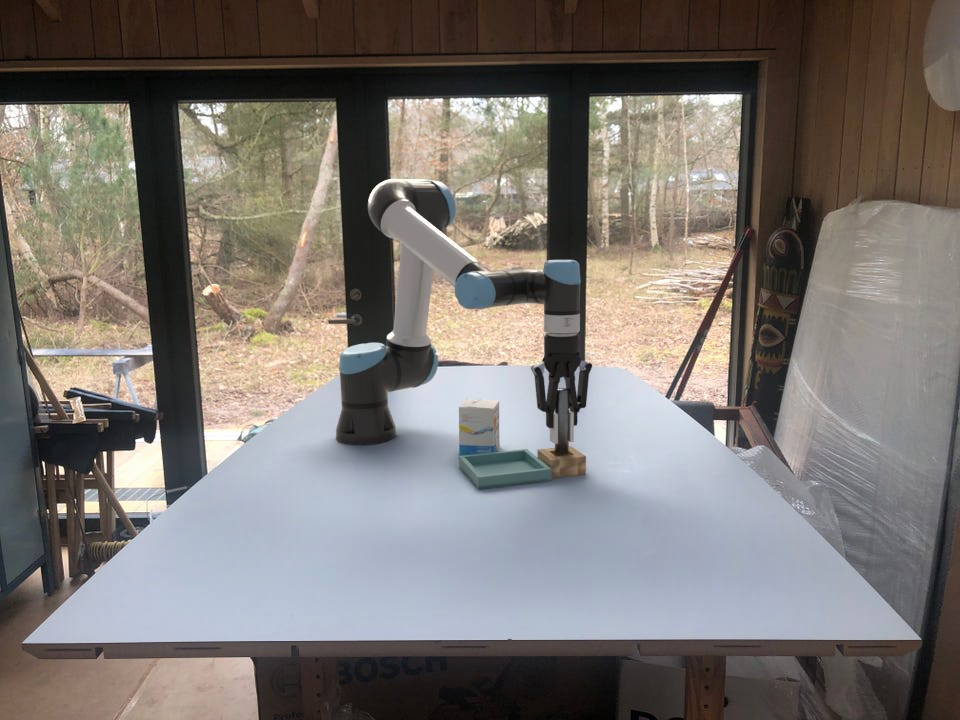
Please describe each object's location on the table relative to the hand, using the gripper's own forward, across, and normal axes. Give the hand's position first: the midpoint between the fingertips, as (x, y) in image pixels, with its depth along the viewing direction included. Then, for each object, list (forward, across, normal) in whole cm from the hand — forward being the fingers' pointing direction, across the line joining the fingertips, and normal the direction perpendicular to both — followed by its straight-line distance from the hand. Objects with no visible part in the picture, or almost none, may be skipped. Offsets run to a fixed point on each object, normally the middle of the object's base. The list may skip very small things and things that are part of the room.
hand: (561, 441), depth 164 cm
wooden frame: (+7, 0, 0) cm, 7 cm away
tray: (+7, -12, +2) cm, 14 cm away
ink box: (+7, -12, +20) cm, 25 cm away
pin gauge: (+3, 0, 0) cm, 3 cm away
